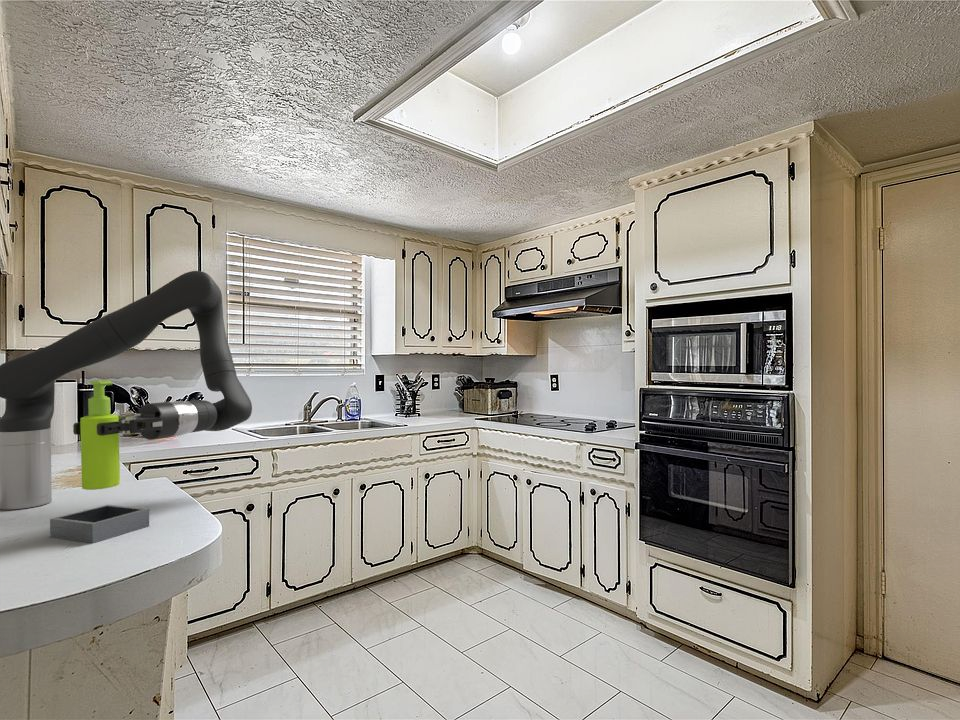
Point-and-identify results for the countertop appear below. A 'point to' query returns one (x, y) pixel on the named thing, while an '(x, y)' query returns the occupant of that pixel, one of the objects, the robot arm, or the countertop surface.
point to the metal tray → (99, 523)
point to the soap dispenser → (99, 443)
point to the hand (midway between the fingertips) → (86, 429)
